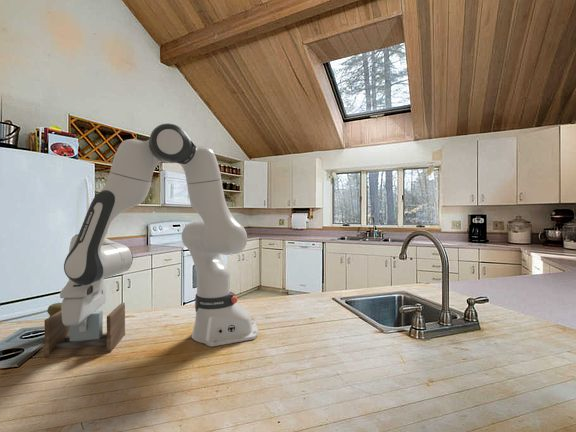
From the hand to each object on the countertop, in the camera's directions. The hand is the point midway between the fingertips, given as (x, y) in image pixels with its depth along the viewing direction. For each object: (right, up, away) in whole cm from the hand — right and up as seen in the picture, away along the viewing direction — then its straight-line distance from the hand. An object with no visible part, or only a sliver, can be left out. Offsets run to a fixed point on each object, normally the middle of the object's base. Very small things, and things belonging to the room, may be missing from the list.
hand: (86, 328), depth 87 cm
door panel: (0, -3, 0) cm, 3 cm away
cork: (-15, -6, +7) cm, 17 cm away
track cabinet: (0, -6, +1) cm, 6 cm away
